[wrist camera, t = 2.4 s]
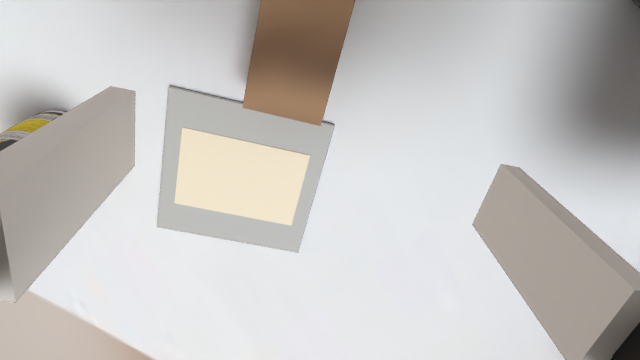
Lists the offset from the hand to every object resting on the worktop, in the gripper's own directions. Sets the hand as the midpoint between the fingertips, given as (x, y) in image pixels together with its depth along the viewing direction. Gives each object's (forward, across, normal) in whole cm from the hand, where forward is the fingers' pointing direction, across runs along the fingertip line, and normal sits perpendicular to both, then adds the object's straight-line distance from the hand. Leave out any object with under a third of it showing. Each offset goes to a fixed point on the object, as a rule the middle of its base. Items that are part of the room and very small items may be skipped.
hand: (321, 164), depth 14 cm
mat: (+15, -4, -9) cm, 18 cm away
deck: (+16, -1, +2) cm, 16 cm away
